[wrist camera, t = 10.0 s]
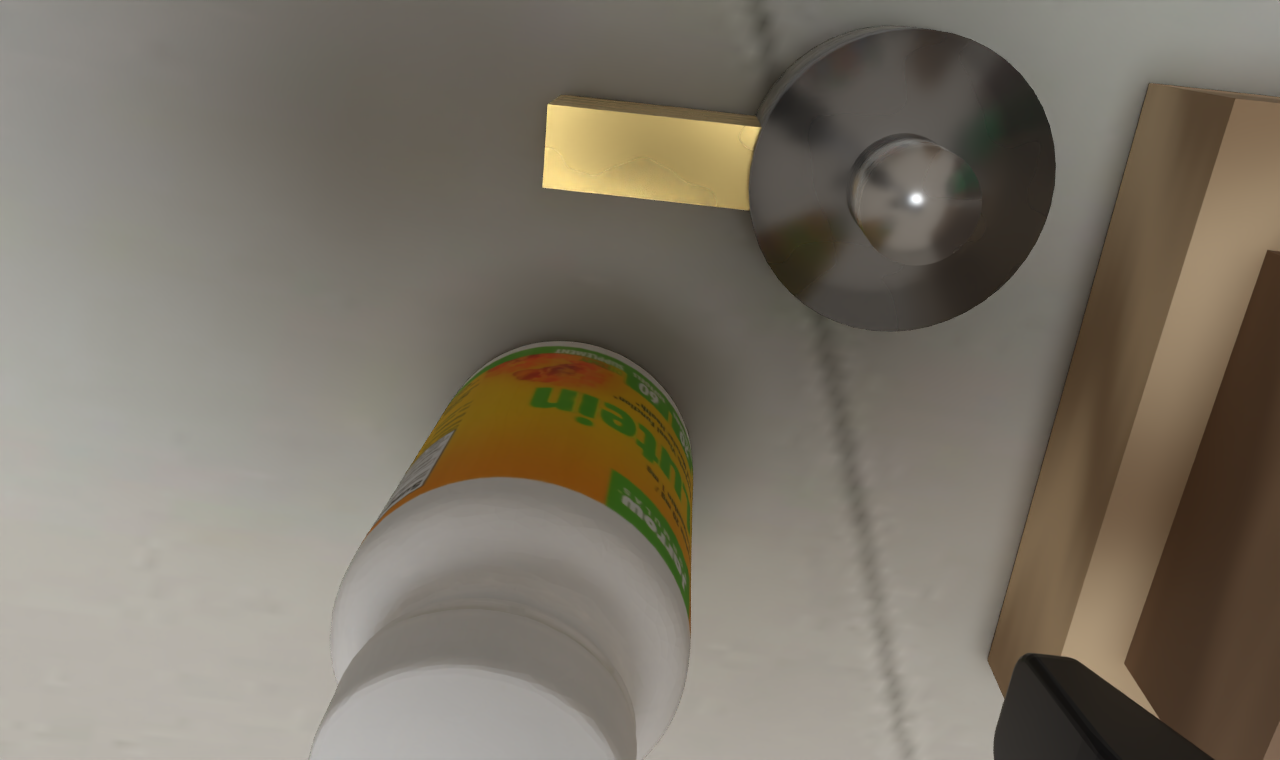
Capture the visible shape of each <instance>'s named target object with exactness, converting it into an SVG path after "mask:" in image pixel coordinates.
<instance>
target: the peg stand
mask: <svg viewBox="0 0 1280 760" xmlns="http://www.w3.org/2000/svg"><path fill="white" fill-rule="evenodd" d="M1267 250H1272V251H1280V97H1274V96H1265V95H1256V94H1246V93H1237V92H1228V91H1219V90H1210V89H1200V88H1191V87H1182V86H1173V85H1163V84H1154V83H1149V86H1148V90H1147V94H1146V97H1145V101H1144V104H1143V108H1142V111H1141V115H1140V119H1139V122H1138V126H1137V129H1136V133H1135V136H1134V140H1133V144H1132V147H1131V151H1130V154H1129V158H1128V161H1127V165H1126V168H1125V172H1124V176H1123V179H1122V183H1121V186H1120V190H1119V193H1118V197H1117V201H1116V204H1115V208H1114V211H1113V215H1112V218H1111V222H1110V226H1109V229H1108V233H1107V236H1106V240H1105V243H1104V247H1103V250H1102V254H1101V258H1100V261H1099V265H1098V268H1097V272H1096V275H1095V279H1094V283H1093V286H1092V290H1091V293H1090V297H1089V300H1088V304H1087V308H1086V311H1085V315H1084V318H1083V322H1082V325H1081V329H1080V332H1079V336H1078V340H1077V343H1076V347H1075V350H1074V354H1073V357H1072V361H1071V365H1070V368H1069V372H1068V375H1067V379H1066V382H1065V386H1064V390H1063V393H1062V397H1061V400H1060V404H1059V407H1058V411H1057V414H1056V418H1055V422H1054V425H1053V429H1052V432H1051V436H1050V439H1049V443H1048V447H1047V450H1046V454H1045V457H1044V461H1043V464H1042V468H1041V472H1040V475H1039V479H1038V482H1037V486H1036V489H1035V493H1034V496H1033V500H1032V504H1031V507H1030V511H1029V514H1028V518H1027V521H1026V525H1025V529H1024V532H1023V536H1022V539H1021V543H1020V546H1019V550H1018V554H1017V557H1016V561H1015V564H1014V568H1013V571H1012V575H1011V578H1010V582H1009V586H1008V589H1007V593H1006V596H1005V600H1004V603H1003V607H1002V611H1001V614H1000V618H999V621H998V625H997V628H996V632H995V636H994V639H993V643H992V646H991V650H990V653H989V657H988V663H989V665H990V667H991V670H992V672H993V674H994V676H995V679H996V681H997V683H998V685H999V688H1000V690H1001V692H1002V695H1003V697H1004V699H1005V696H1006V693H1007V689H1008V686H1009V682H1010V679H1011V676H1012V672H1013V669H1014V666H1015V664H1016V662H1017V661H1018V659H1019V658H1020V657H1021V656H1023V655H1024V654H1026V653H1038V654H1047V655H1056V656H1065V657H1070V658H1073V659H1076V660H1078V661H1079V662H1081V663H1082V664H1083V665H1085V666H1086V667H1088V668H1089V669H1090V670H1092V671H1093V672H1095V673H1096V674H1097V675H1099V676H1100V677H1101V678H1103V679H1104V680H1106V681H1107V682H1108V683H1110V684H1111V685H1112V686H1114V687H1115V688H1117V689H1118V690H1119V691H1121V692H1122V693H1124V694H1125V695H1126V696H1128V697H1129V698H1130V699H1132V700H1133V701H1135V702H1136V703H1137V704H1139V705H1140V706H1142V707H1143V708H1144V709H1146V710H1147V711H1148V712H1150V713H1151V714H1153V715H1154V716H1155V717H1157V718H1158V719H1159V717H1158V716H1157V714H1156V713H1155V711H1154V710H1153V708H1152V706H1151V705H1150V703H1149V702H1148V700H1147V699H1146V697H1145V696H1144V694H1143V692H1142V691H1141V689H1140V688H1139V686H1138V685H1137V683H1136V682H1135V680H1134V678H1133V677H1132V675H1131V674H1130V672H1129V671H1128V669H1127V668H1126V666H1125V664H1124V662H1125V659H1126V656H1127V653H1128V650H1129V647H1130V644H1131V641H1132V639H1133V636H1134V633H1135V630H1136V627H1137V624H1138V621H1139V618H1140V616H1141V613H1142V610H1143V607H1144V604H1145V601H1146V598H1147V595H1148V592H1149V590H1150V587H1151V584H1152V581H1153V578H1154V575H1155V572H1156V569H1157V566H1158V564H1159V561H1160V558H1161V555H1162V552H1163V549H1164V546H1165V543H1166V541H1167V538H1168V535H1169V532H1170V529H1171V526H1172V523H1173V520H1174V517H1175V515H1176V512H1177V509H1178V506H1179V503H1180V500H1181V497H1182V494H1183V491H1184V489H1185V486H1186V483H1187V480H1188V477H1189V474H1190V471H1191V468H1192V466H1193V463H1194V460H1195V457H1196V454H1197V451H1198V448H1199V445H1200V442H1201V440H1202V437H1203V434H1204V431H1205V428H1206V425H1207V422H1208V419H1209V417H1210V414H1211V411H1212V408H1213V405H1214V402H1215V399H1216V396H1217V393H1218V391H1219V388H1220V385H1221V382H1222V379H1223V376H1224V373H1225V370H1226V367H1227V365H1228V362H1229V359H1230V356H1231V353H1232V350H1233V347H1234V344H1235V342H1236V339H1237V336H1238V333H1239V330H1240V327H1241V324H1242V321H1243V318H1244V316H1245V313H1246V310H1247V307H1248V304H1249V301H1250V298H1251V295H1252V292H1253V290H1254V287H1255V284H1256V281H1257V278H1258V275H1259V272H1260V269H1261V267H1262V264H1263V261H1264V258H1265V255H1266V252H1267Z"/></svg>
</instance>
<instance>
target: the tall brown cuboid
mask: <svg viewBox="0 0 1280 760" xmlns="http://www.w3.org/2000/svg"><path fill="white" fill-rule="evenodd" d="M1124 664H1125V666H1126V668H1127V669H1128V671H1129V672H1130V674H1131V675H1132V677H1133V678H1134V680H1135V682H1136V683H1137V685H1138V686H1139V688H1140V689H1141V691H1142V692H1143V694H1144V696H1145V697H1146V699H1147V700H1148V702H1149V703H1150V705H1151V706H1152V708H1153V710H1154V711H1155V713H1156V714H1157V716H1158V717H1159V719H1160V720H1161V721H1162V722H1164V723H1165V724H1166V725H1168V726H1169V727H1171V728H1172V729H1173V730H1175V731H1176V732H1178V733H1179V734H1180V735H1182V736H1183V737H1184V738H1186V739H1187V740H1189V741H1190V742H1191V743H1193V744H1194V745H1196V746H1197V747H1198V748H1200V749H1201V750H1202V751H1204V752H1205V753H1207V754H1208V755H1209V756H1211V757H1212V758H1214V759H1215V760H1280V251H1272V250H1267V252H1266V255H1265V258H1264V261H1263V264H1262V267H1261V269H1260V272H1259V275H1258V278H1257V281H1256V284H1255V287H1254V290H1253V292H1252V295H1251V298H1250V301H1249V304H1248V307H1247V310H1246V313H1245V316H1244V318H1243V321H1242V324H1241V327H1240V330H1239V333H1238V336H1237V339H1236V342H1235V344H1234V347H1233V350H1232V353H1231V356H1230V359H1229V362H1228V365H1227V367H1226V370H1225V373H1224V376H1223V379H1222V382H1221V385H1220V388H1219V391H1218V393H1217V396H1216V399H1215V402H1214V405H1213V408H1212V411H1211V414H1210V417H1209V419H1208V422H1207V425H1206V428H1205V431H1204V434H1203V437H1202V440H1201V442H1200V445H1199V448H1198V451H1197V454H1196V457H1195V460H1194V463H1193V466H1192V468H1191V471H1190V474H1189V477H1188V480H1187V483H1186V486H1185V489H1184V491H1183V494H1182V497H1181V500H1180V503H1179V506H1178V509H1177V512H1176V515H1175V517H1174V520H1173V523H1172V526H1171V529H1170V532H1169V535H1168V538H1167V541H1166V543H1165V546H1164V549H1163V552H1162V555H1161V558H1160V561H1159V564H1158V566H1157V569H1156V572H1155V575H1154V578H1153V581H1152V584H1151V587H1150V590H1149V592H1148V595H1147V598H1146V601H1145V604H1144V607H1143V610H1142V613H1141V616H1140V618H1139V621H1138V624H1137V627H1136V630H1135V633H1134V636H1133V639H1132V641H1131V644H1130V647H1129V650H1128V653H1127V656H1126V659H1125V662H1124Z"/></svg>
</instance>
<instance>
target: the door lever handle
mask: <svg viewBox="0 0 1280 760" xmlns="http://www.w3.org/2000/svg"><path fill="white" fill-rule="evenodd" d="M1055 169H1056V163H1055V151H1054V143H1053V138H1052V134H1051V129H1050V125H1049V123H1048V120H1047V118H1046V115H1045V112H1044V110H1043V107H1042V105H1041V104H1040V102H1039V100H1038V98H1037V96H1036V95H1035V93H1034V91H1033V89H1032V88H1031V87H1030V86H1029V84H1028V83H1027V82H1026V80H1025V79H1024V78H1023V76H1022V75H1021V74H1020V73H1019V72H1018V71H1017V70H1016V69H1015V68H1014V67H1013V66H1012V65H1011V64H1010V63H1008V62H1007V61H1006V60H1005V59H1004V58H1002V57H1001V56H999V55H998V54H996V53H995V52H994V51H992V50H991V49H989V48H987V47H985V46H983V45H981V44H979V43H977V42H975V41H973V40H971V39H968V38H965V37H962V36H959V35H956V34H953V33H948V32H942V31H937V30H931V29H922V28H914V27H906V26H877V27H867V28H863V29H859V30H854V31H850V32H847V33H844V34H842V35H839V36H836V37H834V38H831V39H829V40H827V41H826V42H824V43H822V44H820V45H818V46H816V47H814V48H813V49H812V50H810V51H809V52H807V53H806V54H805V55H803V56H802V57H800V58H799V59H798V60H797V61H796V62H795V63H793V64H792V65H791V66H790V67H789V68H788V69H787V70H786V71H785V72H784V73H783V74H782V75H781V77H780V78H779V79H778V80H777V81H776V82H775V84H774V85H773V86H772V88H771V89H770V91H769V92H768V94H767V95H766V97H765V98H764V100H763V101H762V103H761V105H760V107H759V110H758V112H757V114H756V116H753V115H743V114H734V113H725V112H716V111H707V110H698V109H689V108H680V107H671V106H661V105H652V104H643V103H634V102H625V101H616V100H607V99H598V98H589V97H580V96H570V95H560V96H559V97H557V98H556V99H554V100H553V101H552V102H550V103H549V104H548V108H547V123H546V139H545V155H544V170H543V186H542V188H551V189H560V190H569V191H578V192H587V193H596V194H605V195H614V196H623V197H632V198H641V199H650V200H659V201H668V202H677V203H686V204H695V205H704V206H713V207H722V208H731V209H740V210H749V211H750V216H751V220H752V224H753V228H754V231H755V234H756V237H757V240H758V243H759V246H760V249H761V251H762V253H763V255H764V257H765V259H766V261H767V263H768V265H769V266H770V267H771V269H772V270H773V272H774V273H775V275H776V276H777V278H778V279H779V280H780V281H781V283H782V284H783V285H784V286H785V287H786V288H787V289H788V290H789V291H790V293H792V294H793V295H794V296H795V297H796V298H798V299H799V300H800V301H801V302H802V303H803V304H805V305H806V306H808V307H809V308H811V309H813V310H814V311H816V312H817V313H819V314H821V315H823V316H825V317H827V318H829V319H831V320H834V321H836V322H839V323H842V324H845V325H848V326H851V327H855V328H861V329H866V330H872V331H905V330H913V329H918V328H924V327H929V326H932V325H935V324H938V323H941V322H944V321H947V320H950V319H952V318H954V317H956V316H958V315H961V314H963V313H965V312H967V311H968V310H970V309H972V308H973V307H975V306H977V305H978V304H980V303H982V302H983V301H984V300H986V299H987V298H988V297H990V296H991V295H992V294H993V293H995V292H996V291H997V290H999V289H1000V288H1001V287H1002V286H1003V285H1004V284H1005V283H1006V282H1007V281H1008V280H1009V279H1010V278H1011V277H1012V276H1013V275H1014V273H1015V272H1016V271H1017V270H1018V268H1019V267H1020V266H1021V265H1022V263H1023V262H1024V261H1025V260H1026V258H1027V256H1028V255H1029V253H1030V252H1031V250H1032V248H1033V247H1034V245H1035V244H1036V242H1037V240H1038V237H1039V235H1040V233H1041V231H1042V229H1043V227H1044V225H1045V222H1046V219H1047V215H1048V212H1049V209H1050V206H1051V202H1052V196H1053V191H1054V186H1055Z"/></svg>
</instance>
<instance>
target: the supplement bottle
mask: <svg viewBox="0 0 1280 760" xmlns="http://www.w3.org/2000/svg"><path fill="white" fill-rule="evenodd" d="M692 499H693V465H692V451H691V444H690V439H689V436H688V432H687V429H686V426H685V423H684V420H683V418H682V416H681V414H680V412H679V410H678V409H677V407H676V405H675V403H674V402H673V400H672V399H671V397H670V396H669V394H668V393H667V392H666V391H665V389H664V388H663V387H662V386H661V385H660V384H659V383H658V382H657V381H656V380H655V379H654V378H653V377H652V376H651V375H650V374H649V373H648V372H646V371H645V370H644V369H642V368H641V367H640V366H638V365H637V364H635V363H634V362H632V361H630V360H629V359H627V358H625V357H623V356H621V355H619V354H617V353H614V352H612V351H610V350H607V349H604V348H601V347H598V346H594V345H590V344H585V343H579V342H570V341H550V342H540V343H534V344H530V345H525V346H522V347H519V348H516V349H513V350H511V351H509V352H506V353H504V354H502V355H500V356H498V357H496V358H495V359H493V360H491V361H490V362H488V363H487V364H486V365H484V366H483V367H482V368H480V369H479V370H478V371H477V372H476V373H475V374H473V375H472V376H471V377H470V378H469V379H468V381H467V382H466V383H465V384H464V385H463V386H462V388H461V389H460V390H459V391H458V393H457V394H456V395H455V397H454V398H453V399H452V401H451V402H450V404H449V405H448V407H447V408H446V410H445V412H444V413H443V415H442V416H441V418H440V420H439V421H438V423H437V424H436V426H435V428H434V429H433V431H432V432H431V434H430V435H429V437H428V439H427V440H426V442H425V444H424V445H423V447H422V448H421V450H420V451H419V453H418V455H417V456H416V458H415V460H414V461H413V463H412V464H411V466H410V468H409V469H408V470H407V472H406V474H405V475H404V477H403V479H402V480H401V482H400V484H399V485H398V487H397V489H396V490H395V492H394V493H393V495H392V496H391V498H390V500H389V502H388V503H387V505H386V506H385V508H384V509H383V511H382V513H381V514H380V516H379V517H378V519H377V520H376V522H375V523H374V525H373V526H372V528H371V530H370V531H369V532H368V534H367V535H366V537H365V539H364V540H363V542H362V543H361V545H360V547H359V548H358V550H357V552H356V554H355V556H354V557H353V559H352V561H351V563H350V565H349V567H348V569H347V571H346V573H345V575H344V577H343V579H342V582H341V584H340V587H339V590H338V593H337V596H336V599H335V604H334V608H333V612H332V622H331V634H330V648H331V660H332V665H333V670H334V675H335V678H336V681H337V684H338V686H337V689H336V692H335V694H334V696H333V698H332V700H331V702H330V704H329V707H328V709H327V711H326V713H325V715H324V717H323V719H322V721H321V724H320V726H319V728H318V730H317V732H316V734H315V737H314V740H313V744H312V747H311V752H310V756H309V760H643V759H644V758H645V757H646V756H647V755H648V754H649V752H650V751H651V750H652V749H653V748H654V747H655V745H656V744H657V743H658V742H659V740H660V739H661V738H662V736H663V735H664V733H665V732H666V730H667V728H668V727H669V725H670V723H671V721H672V719H673V717H674V715H675V712H676V710H677V708H678V705H679V703H680V699H681V696H682V693H683V690H684V685H685V681H686V677H687V671H688V664H689V654H690V639H691V543H692Z"/></svg>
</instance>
